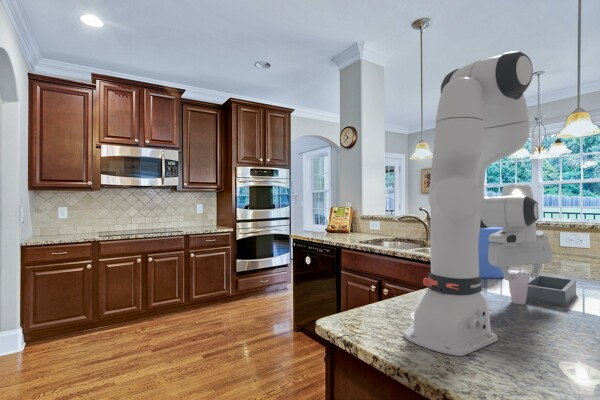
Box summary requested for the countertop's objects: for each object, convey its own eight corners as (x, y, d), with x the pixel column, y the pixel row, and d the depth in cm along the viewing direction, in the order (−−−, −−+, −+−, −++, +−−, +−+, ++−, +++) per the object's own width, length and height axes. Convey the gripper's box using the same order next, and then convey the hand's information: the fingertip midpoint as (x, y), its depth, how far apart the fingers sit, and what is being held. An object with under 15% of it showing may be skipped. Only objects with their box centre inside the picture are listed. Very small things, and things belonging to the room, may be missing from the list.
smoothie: (535, 306, 96) (534, 260, 96) (512, 305, 97) (511, 260, 97) (524, 300, 102) (523, 257, 102) (503, 299, 104) (502, 256, 104)
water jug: (469, 278, 132) (468, 212, 133) (460, 270, 148) (458, 211, 148) (511, 279, 129) (509, 211, 129) (497, 271, 144) (495, 210, 144)
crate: (565, 307, 94) (565, 291, 94) (522, 299, 102) (521, 284, 103) (576, 294, 107) (576, 279, 108) (537, 288, 116) (536, 274, 116)
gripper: (538, 232, 104) (541, 274, 104) (483, 236, 101) (486, 279, 101) (556, 234, 98) (559, 278, 98) (498, 238, 95) (501, 283, 95)
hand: (521, 278), depth 99 cm, fingers open, 8 cm apart
